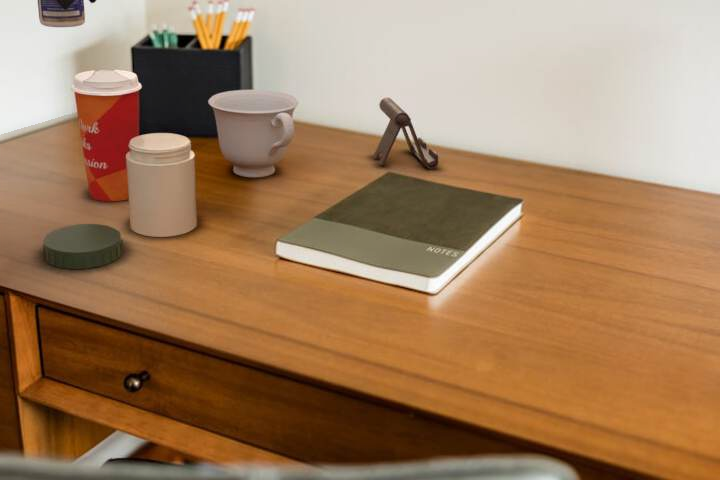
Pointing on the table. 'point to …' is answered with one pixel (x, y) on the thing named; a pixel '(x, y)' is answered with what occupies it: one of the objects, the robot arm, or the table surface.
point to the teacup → (254, 128)
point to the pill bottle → (61, 14)
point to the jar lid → (82, 246)
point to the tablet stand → (395, 124)
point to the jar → (161, 185)
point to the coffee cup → (107, 128)
